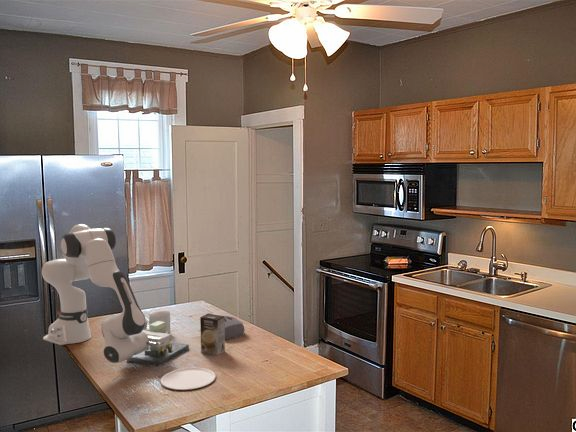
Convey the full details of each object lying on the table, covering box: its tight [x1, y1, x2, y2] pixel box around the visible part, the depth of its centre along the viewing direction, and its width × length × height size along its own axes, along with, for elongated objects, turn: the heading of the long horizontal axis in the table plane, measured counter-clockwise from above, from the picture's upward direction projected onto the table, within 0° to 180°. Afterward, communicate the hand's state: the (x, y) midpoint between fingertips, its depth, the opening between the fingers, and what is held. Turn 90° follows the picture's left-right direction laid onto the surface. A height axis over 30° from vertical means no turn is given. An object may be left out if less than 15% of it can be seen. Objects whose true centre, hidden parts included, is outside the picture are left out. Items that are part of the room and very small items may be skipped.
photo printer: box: [148, 309, 171, 333], centre depth 255 cm, size 10×4×12 cm, turn 123°
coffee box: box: [199, 313, 226, 356], centre depth 231 cm, size 9×6×16 cm
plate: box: [160, 366, 217, 391], centre depth 202 cm, size 21×21×1 cm
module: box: [148, 321, 166, 353], centre depth 228 cm, size 4×6×12 cm
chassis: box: [126, 341, 190, 368], centre depth 229 cm, size 16×22×5 cm
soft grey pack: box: [224, 315, 246, 340], centre depth 256 cm, size 15×8×20 cm
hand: (159, 331), depth 229 cm, fingers open, 8 cm apart
